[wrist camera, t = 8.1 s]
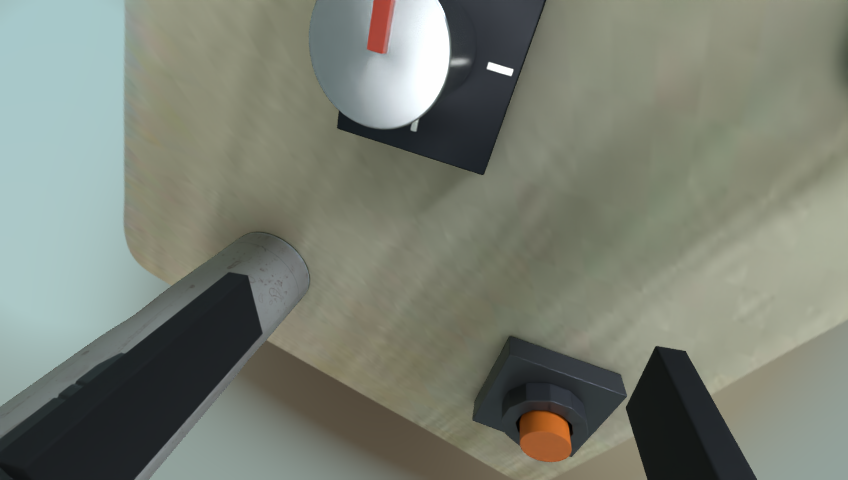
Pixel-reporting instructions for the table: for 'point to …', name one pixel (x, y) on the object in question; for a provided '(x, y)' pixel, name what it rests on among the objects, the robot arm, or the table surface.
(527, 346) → the black button base
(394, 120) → the timer knob
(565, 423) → the power button
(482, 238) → the table surface
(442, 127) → the timer panel
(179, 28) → the table surface
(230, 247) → the thermos bottle
